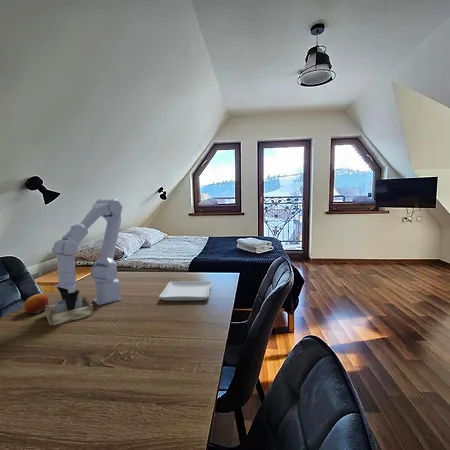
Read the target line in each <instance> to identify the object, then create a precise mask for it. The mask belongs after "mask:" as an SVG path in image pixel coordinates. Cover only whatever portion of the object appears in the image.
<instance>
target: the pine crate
mask: <svg viewBox="0 0 450 450" xmlns="http://www.w3.org/2000/svg"><path fill="white" fill-rule="evenodd" d="M80 299H81V300H82V308H79V309H75V310H70V311H66V312H62V313H58V314H56V307H55V304H53V305H49V304H48V305H46V306H45V317H46V319H47V321H48V324H49V326H55V325H60V324H64V323H67V322H70V321H71V322H72V321H75V320H79V319H82V318H85V317H91V316H94V305H93V303H91V302H90V301H89V300H88V299H87V297H86V296H83V297H82V298H80Z"/></svg>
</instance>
